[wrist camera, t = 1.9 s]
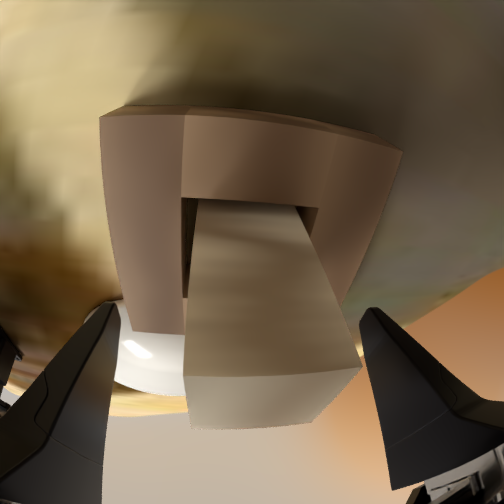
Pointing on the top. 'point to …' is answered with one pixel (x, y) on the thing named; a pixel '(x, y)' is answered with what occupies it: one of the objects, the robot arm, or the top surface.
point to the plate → (149, 359)
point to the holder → (232, 192)
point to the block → (260, 321)
